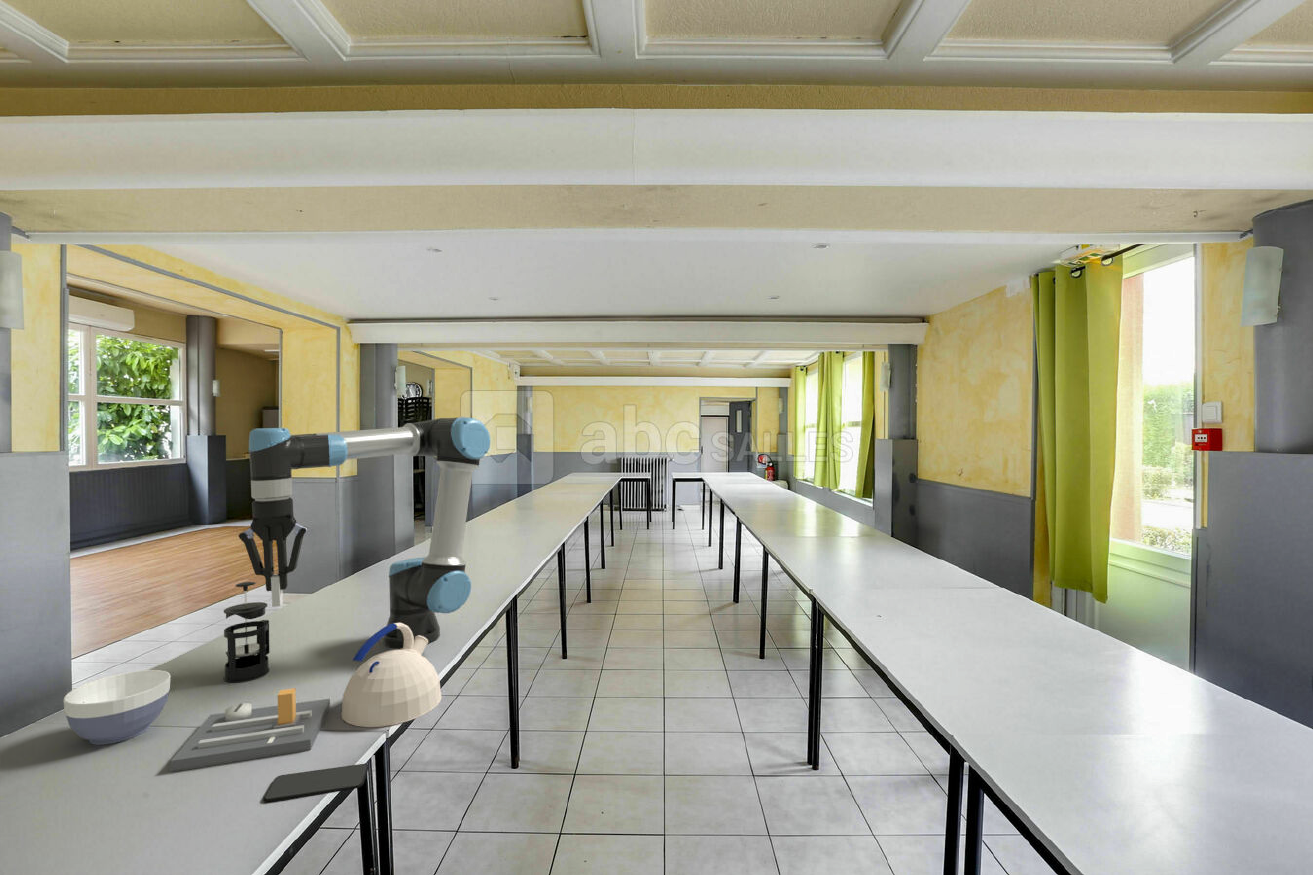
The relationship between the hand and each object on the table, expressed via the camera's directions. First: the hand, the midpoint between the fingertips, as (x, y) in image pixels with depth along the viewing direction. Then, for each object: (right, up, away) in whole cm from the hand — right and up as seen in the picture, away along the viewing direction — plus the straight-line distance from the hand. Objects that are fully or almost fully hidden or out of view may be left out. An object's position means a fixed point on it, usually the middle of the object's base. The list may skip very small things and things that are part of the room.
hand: (277, 604), depth 131 cm
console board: (+5, -23, -13) cm, 27 cm away
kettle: (+25, -23, 0) cm, 34 cm away
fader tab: (+10, -21, -13) cm, 27 cm away
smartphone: (+25, -23, -29) cm, 45 cm away
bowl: (-24, -23, -11) cm, 35 cm away
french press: (-18, -22, +17) cm, 34 cm away
